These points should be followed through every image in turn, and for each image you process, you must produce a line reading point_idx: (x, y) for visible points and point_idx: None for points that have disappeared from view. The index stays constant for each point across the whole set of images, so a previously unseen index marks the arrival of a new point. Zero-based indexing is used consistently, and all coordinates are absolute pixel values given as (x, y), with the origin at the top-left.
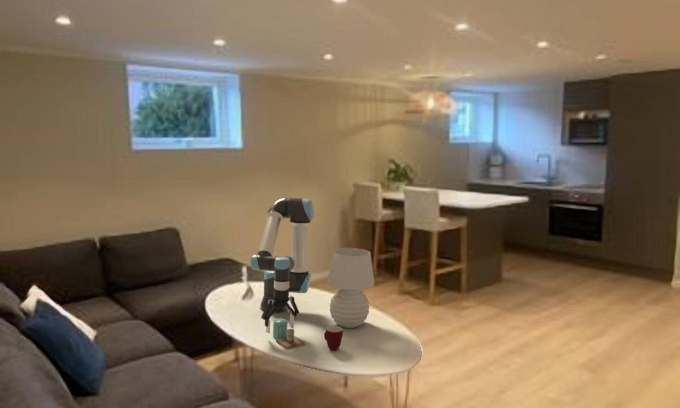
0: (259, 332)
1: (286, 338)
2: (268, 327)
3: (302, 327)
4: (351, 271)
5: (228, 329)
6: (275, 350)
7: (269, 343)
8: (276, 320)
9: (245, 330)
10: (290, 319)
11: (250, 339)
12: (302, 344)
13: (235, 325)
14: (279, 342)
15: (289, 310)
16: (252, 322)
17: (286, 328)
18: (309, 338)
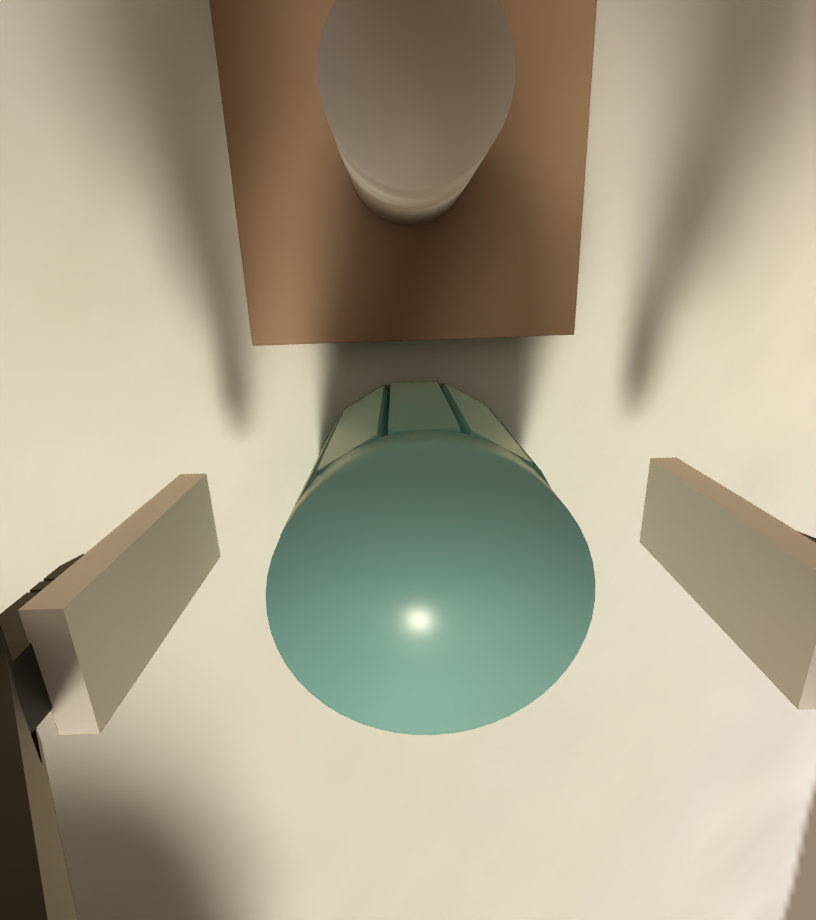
0: (576, 681)
1: (415, 289)
2: (740, 505)
3: (9, 602)
4: None
5: (797, 857)
6: (759, 11)
7: (671, 323)
8: (497, 662)
9: (674, 780)
10: (158, 630)
11: None
12: None
13: (681, 907)
14: (578, 219)
15: (57, 843)
16: (496, 910)
17: (351, 433)
18: (35, 193)
